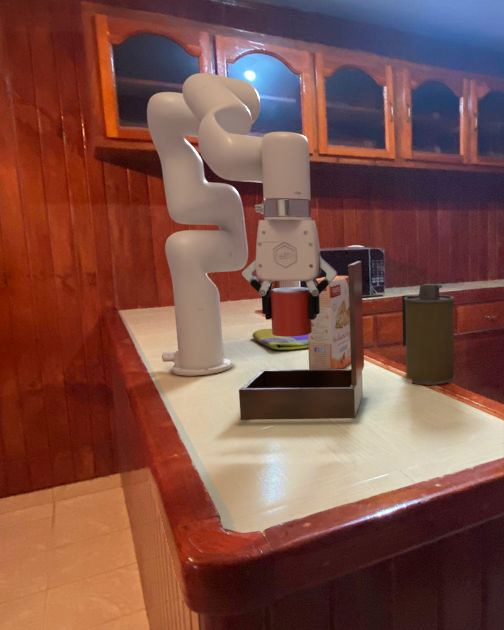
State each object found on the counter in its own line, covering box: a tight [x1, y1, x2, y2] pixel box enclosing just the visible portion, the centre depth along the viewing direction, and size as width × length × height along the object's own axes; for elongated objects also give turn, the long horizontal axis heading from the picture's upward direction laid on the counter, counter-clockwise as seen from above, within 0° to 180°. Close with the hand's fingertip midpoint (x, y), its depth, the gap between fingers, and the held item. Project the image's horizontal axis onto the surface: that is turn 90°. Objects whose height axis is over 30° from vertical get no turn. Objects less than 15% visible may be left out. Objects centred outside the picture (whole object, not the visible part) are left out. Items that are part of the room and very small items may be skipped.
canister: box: [401, 283, 456, 386], centre depth 111 cm, size 11×10×20 cm
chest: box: [238, 368, 364, 421], centre depth 92 cm, size 19×13×6 cm
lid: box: [347, 260, 365, 386], centre depth 90 cm, size 19×13×1 cm
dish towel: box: [252, 328, 309, 351], centre depth 152 cm, size 18×24×3 cm
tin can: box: [270, 286, 312, 337], centre depth 90 cm, size 7×7×8 cm
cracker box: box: [306, 275, 351, 370], centre depth 120 cm, size 14×6×21 cm, turn 168°
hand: (291, 317), depth 90 cm, fingers closed on tin can, 6 cm apart
